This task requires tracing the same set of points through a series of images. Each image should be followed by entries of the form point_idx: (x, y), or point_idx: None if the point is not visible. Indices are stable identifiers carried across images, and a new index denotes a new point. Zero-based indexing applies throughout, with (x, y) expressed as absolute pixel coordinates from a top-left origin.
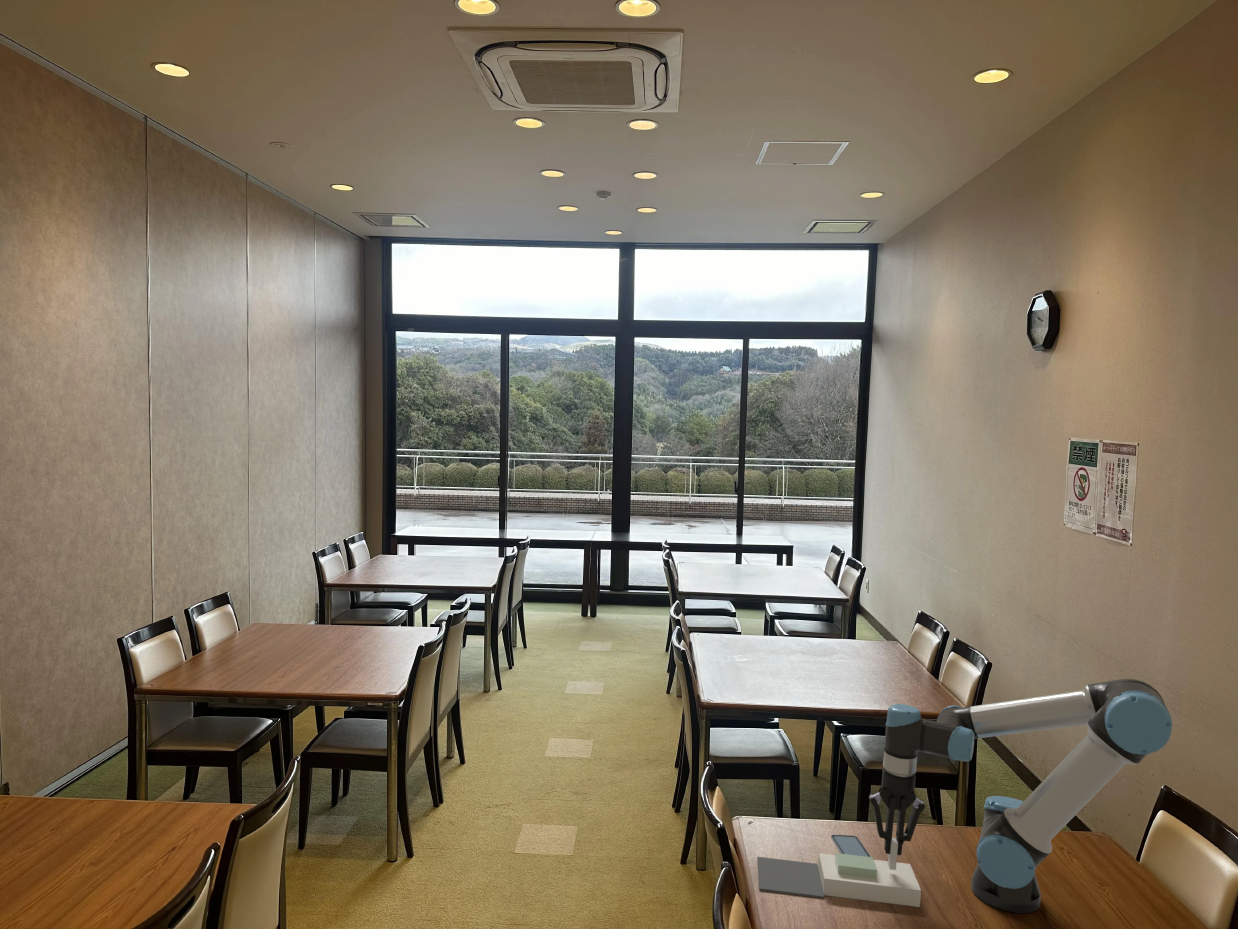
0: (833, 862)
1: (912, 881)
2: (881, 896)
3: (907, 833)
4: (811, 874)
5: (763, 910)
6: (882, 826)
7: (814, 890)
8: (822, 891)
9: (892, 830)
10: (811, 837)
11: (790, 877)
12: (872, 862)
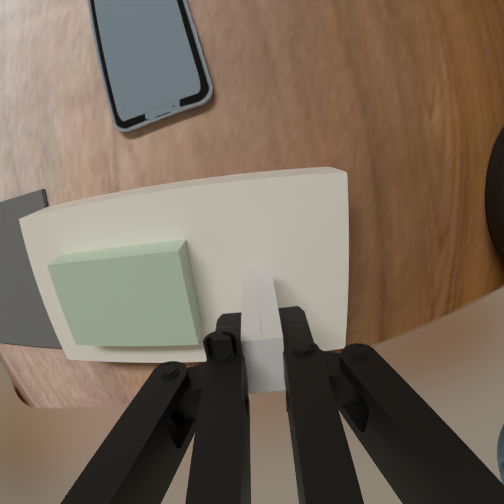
0: None
1: (330, 307)
2: None
3: (352, 428)
4: None
5: (29, 391)
6: (177, 465)
7: None
8: None
9: (249, 449)
10: (36, 25)
11: (12, 288)
12: (178, 295)
